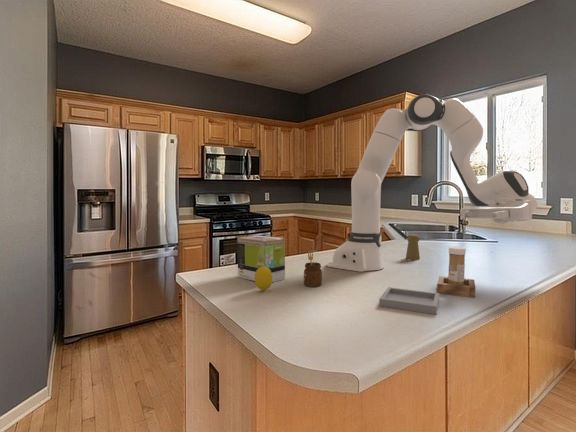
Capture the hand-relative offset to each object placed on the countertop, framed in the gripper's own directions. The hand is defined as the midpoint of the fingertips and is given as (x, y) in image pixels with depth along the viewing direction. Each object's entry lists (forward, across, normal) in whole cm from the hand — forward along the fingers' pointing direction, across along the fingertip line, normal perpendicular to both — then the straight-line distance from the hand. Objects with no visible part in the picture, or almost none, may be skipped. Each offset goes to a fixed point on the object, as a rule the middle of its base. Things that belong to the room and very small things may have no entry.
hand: (479, 215), depth 107 cm
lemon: (+64, -31, +16) cm, 73 cm away
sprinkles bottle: (+14, -1, +22) cm, 26 cm away
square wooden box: (+14, -1, +22) cm, 26 cm away
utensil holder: (+47, -29, +17) cm, 58 cm away
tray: (+35, 0, +20) cm, 40 cm away
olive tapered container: (-14, -40, +22) cm, 48 cm away
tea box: (+58, -46, +16) cm, 76 cm away
